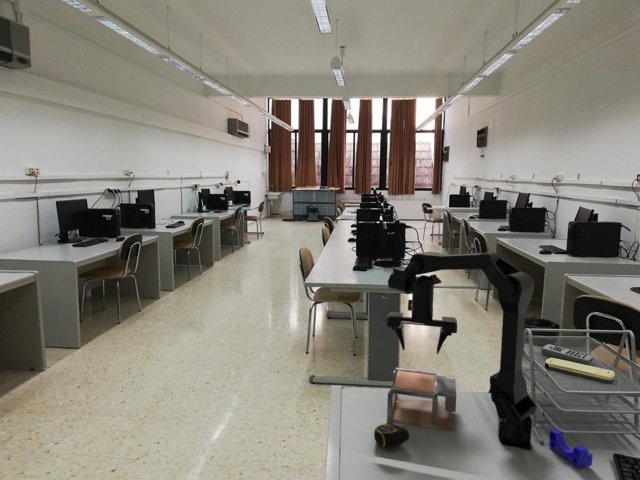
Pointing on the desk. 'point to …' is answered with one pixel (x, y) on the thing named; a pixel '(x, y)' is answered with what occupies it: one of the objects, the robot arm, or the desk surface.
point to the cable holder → (570, 450)
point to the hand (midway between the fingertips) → (420, 351)
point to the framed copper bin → (417, 407)
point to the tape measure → (390, 435)
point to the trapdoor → (429, 386)
